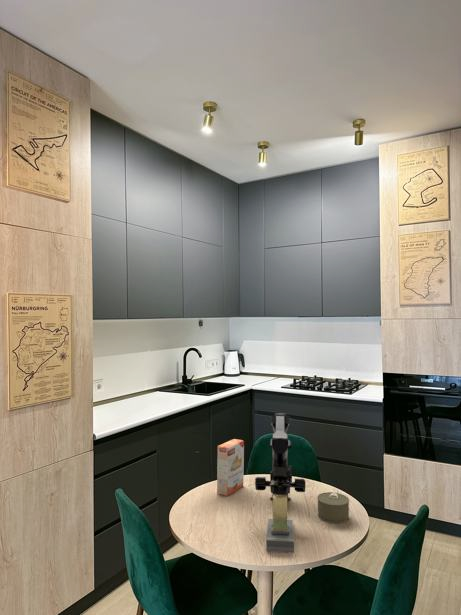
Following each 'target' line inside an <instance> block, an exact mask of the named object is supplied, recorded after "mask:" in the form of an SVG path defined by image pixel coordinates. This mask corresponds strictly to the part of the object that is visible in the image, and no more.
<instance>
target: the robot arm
mask: <svg viewBox="0 0 461 615" xmlns="http://www.w3.org/2000/svg"><path fill="white" fill-rule="evenodd" d="M270 424H271V426H272V431H273V434H272V438H271V439H270V448H269V449H270V450H272V465H271V470H270V472H269V473H270V475H269V478H270V480H267V479H266V477H265V476H257V477H255V480H254V485H255V486H254V487H255V490H256V491H265V490H266V489H267V487H269V488H270V493H271V494H272V496H270V498H269V499H270V500H271V501H273V494H279V495H287V502H288V501H291V499H292V498H291V497H289V494H291V488H294V491H296V493H305V492H306V486H307V485H306V479H304V478H294V481H293V475H292V474H293V471H292V470H293V469H292V468H293V466H292V465H289V464H288V455H289V454H288V452H289V451H290V449H292V442H291V440H290V439H289V438H288V437H289V436H288V434H287V433H288V430H289V426H290V415H287V414H286V413H282V412H281V413H279V412H278V413H274V415H273V414H272V415H270Z"/></svg>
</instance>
